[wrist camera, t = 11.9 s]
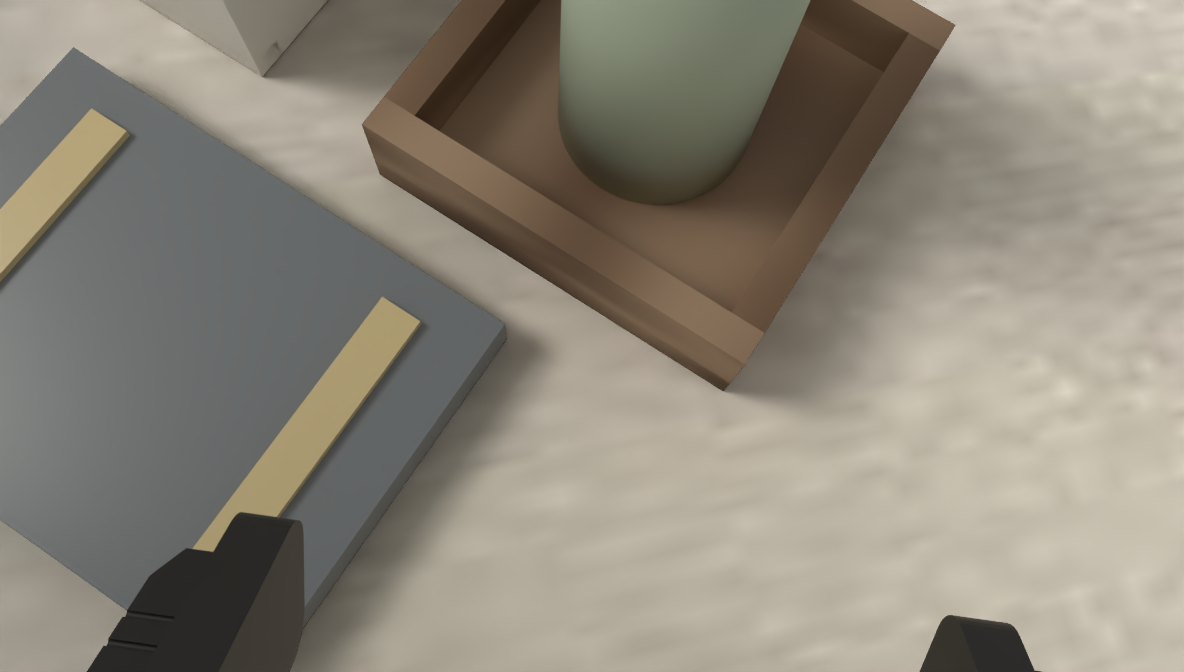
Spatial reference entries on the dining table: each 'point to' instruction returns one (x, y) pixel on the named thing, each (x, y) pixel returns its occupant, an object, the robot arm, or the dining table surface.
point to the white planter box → (243, 25)
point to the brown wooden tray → (640, 231)
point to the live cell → (667, 89)
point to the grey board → (200, 344)
